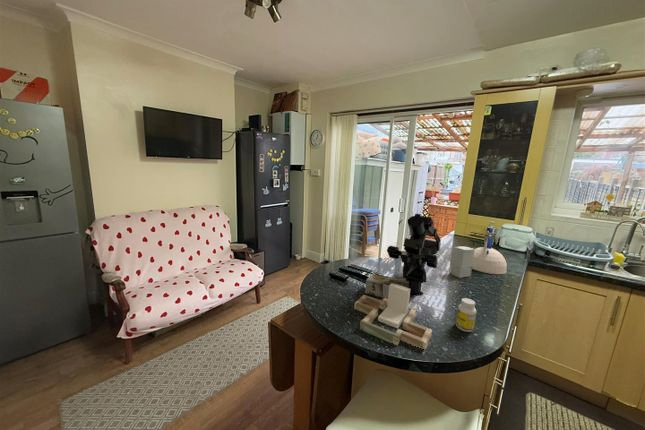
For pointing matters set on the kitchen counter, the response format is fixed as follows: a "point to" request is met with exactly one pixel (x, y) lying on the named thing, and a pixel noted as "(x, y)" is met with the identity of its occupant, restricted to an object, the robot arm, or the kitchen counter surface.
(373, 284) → the coffee box
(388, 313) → the bookend
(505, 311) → the kitchen counter surface
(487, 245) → the pale pink dome
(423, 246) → the robot arm
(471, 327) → the supplement bottle
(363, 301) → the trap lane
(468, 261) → the skincare box
